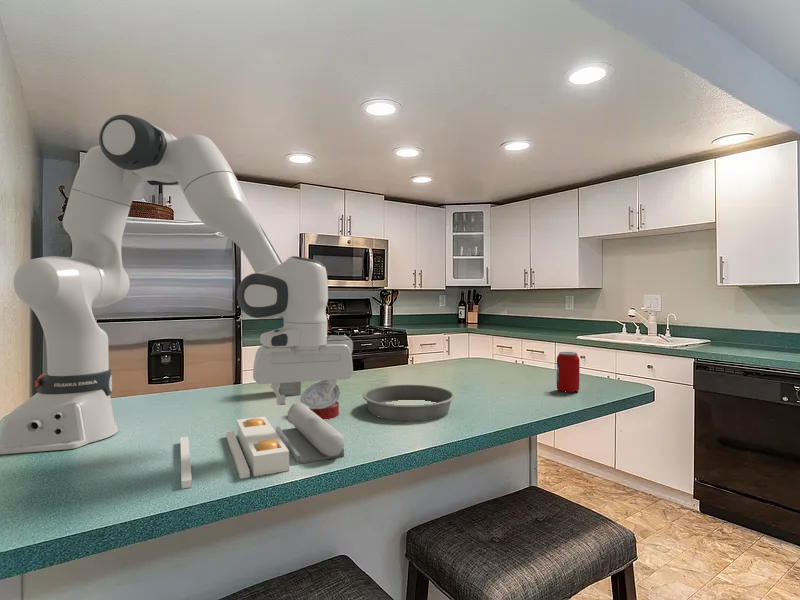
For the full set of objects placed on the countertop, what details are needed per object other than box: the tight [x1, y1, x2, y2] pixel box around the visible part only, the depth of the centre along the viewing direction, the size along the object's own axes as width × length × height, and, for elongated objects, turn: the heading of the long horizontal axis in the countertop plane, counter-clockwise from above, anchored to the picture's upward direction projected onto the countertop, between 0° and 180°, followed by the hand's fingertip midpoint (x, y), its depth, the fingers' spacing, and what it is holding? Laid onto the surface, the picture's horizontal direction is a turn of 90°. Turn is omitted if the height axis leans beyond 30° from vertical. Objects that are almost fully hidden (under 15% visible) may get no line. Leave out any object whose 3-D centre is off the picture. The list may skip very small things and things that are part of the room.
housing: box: [179, 416, 290, 489], centre depth 90 cm, size 17×25×4 cm
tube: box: [287, 402, 345, 457], centre depth 97 cm, size 5×5×25 cm
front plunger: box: [257, 440, 277, 451], centre depth 85 cm, size 4×4×4 cm
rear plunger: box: [245, 417, 263, 427], centre depth 100 cm, size 4×4×4 cm
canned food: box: [299, 380, 341, 421], centre depth 119 cm, size 11×10×10 cm
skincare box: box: [277, 382, 302, 397], centre depth 145 cm, size 8×7×16 cm
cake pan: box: [362, 384, 456, 421], centre depth 124 cm, size 25×25×4 cm
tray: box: [275, 426, 345, 465], centre depth 96 cm, size 9×20×2 cm, turn 26°
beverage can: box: [556, 351, 581, 393], centre depth 146 cm, size 7×7×12 cm
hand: (303, 402), depth 96 cm, fingers open, 8 cm apart
